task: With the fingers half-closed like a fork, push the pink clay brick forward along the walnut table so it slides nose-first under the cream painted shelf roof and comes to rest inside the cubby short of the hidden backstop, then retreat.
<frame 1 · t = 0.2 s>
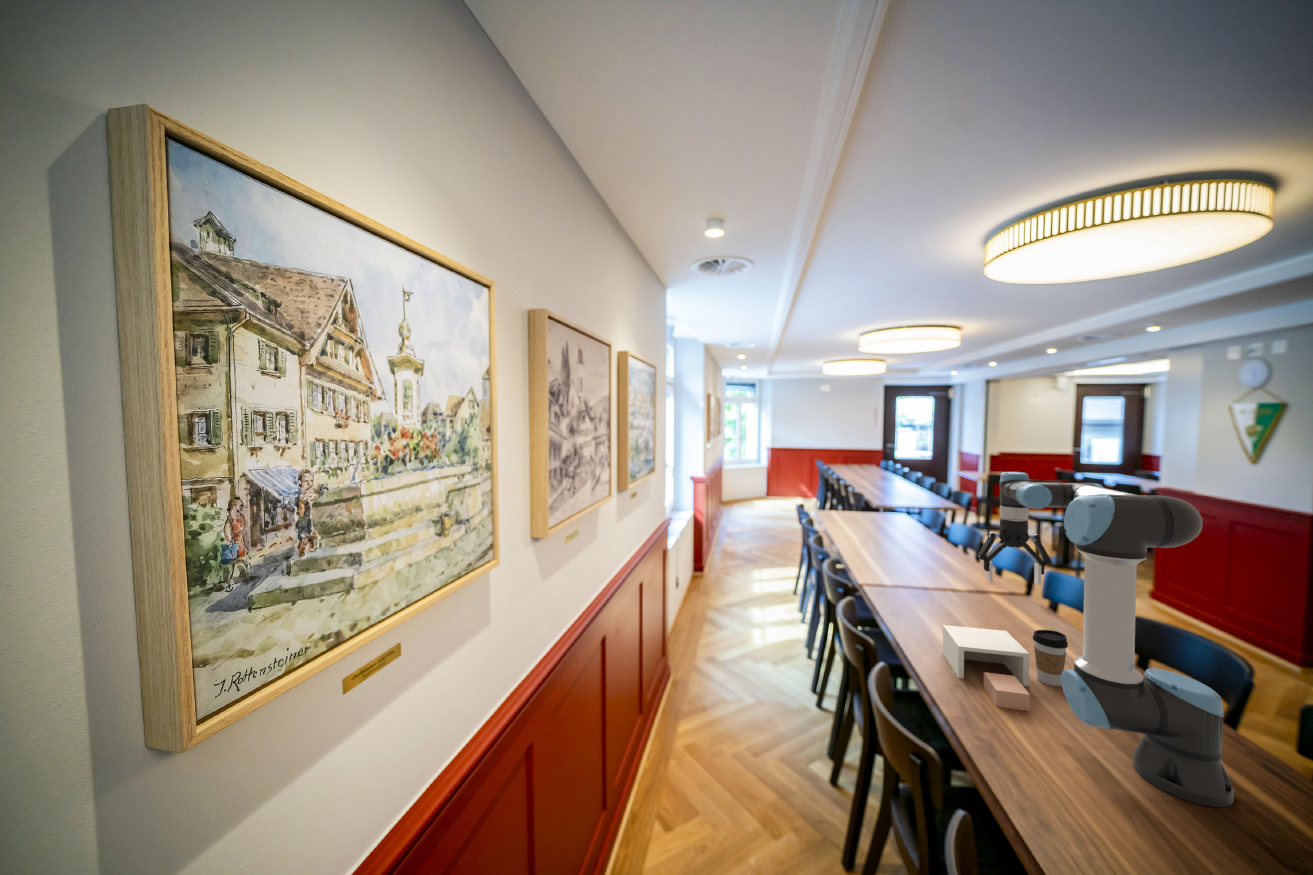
hand: (1013, 582, 155), 28 cm above the table, fingers open, 13 cm apart
pink clay brick: (1005, 699, 137), on the table
shelf: (982, 668, 153), on the table
coffee cup: (1049, 681, 146), on the table
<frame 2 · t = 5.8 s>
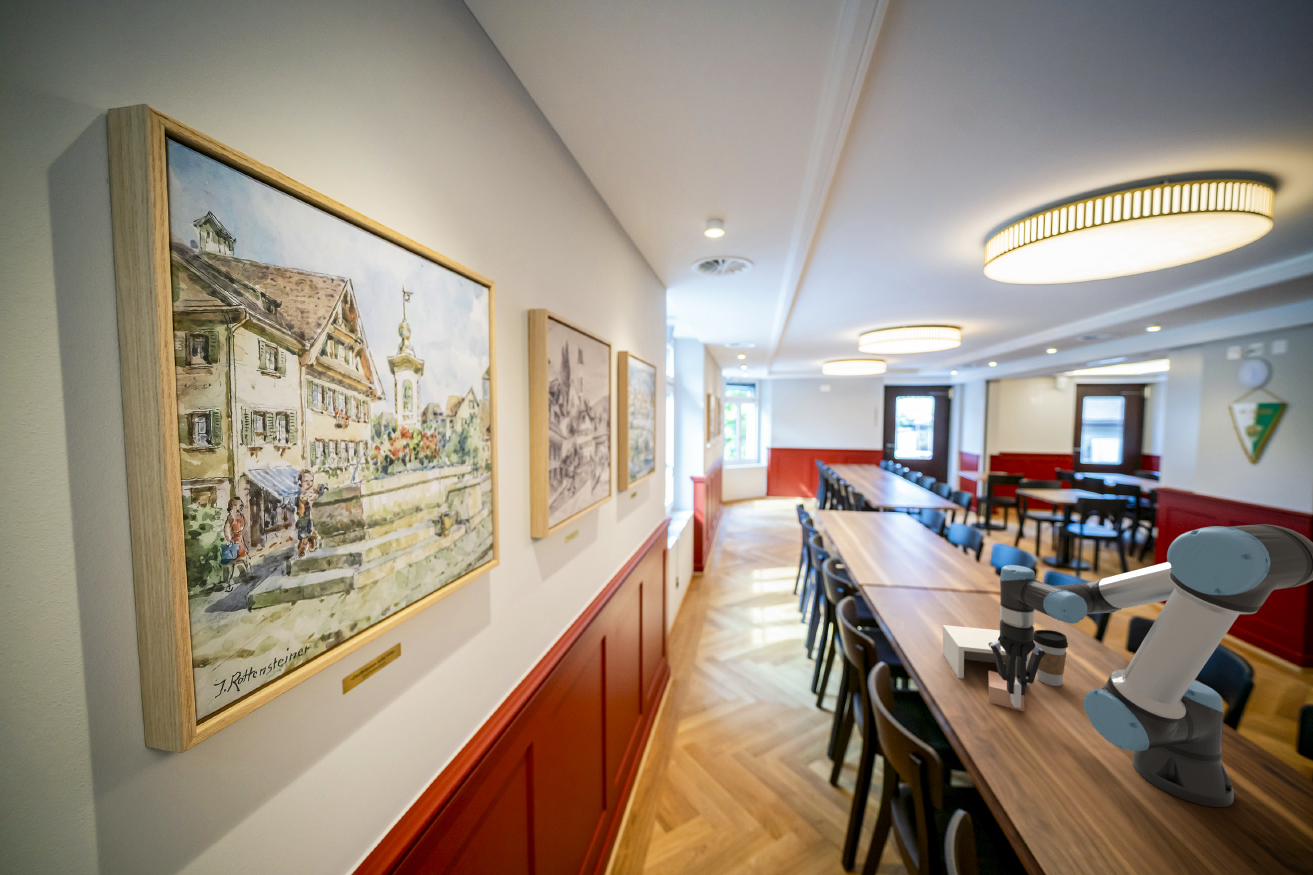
hand: (1015, 704, 131), 2 cm above the table, fingers closed
pink clay brick: (1005, 698, 137), on the table, touching gripper
everything else where it was.
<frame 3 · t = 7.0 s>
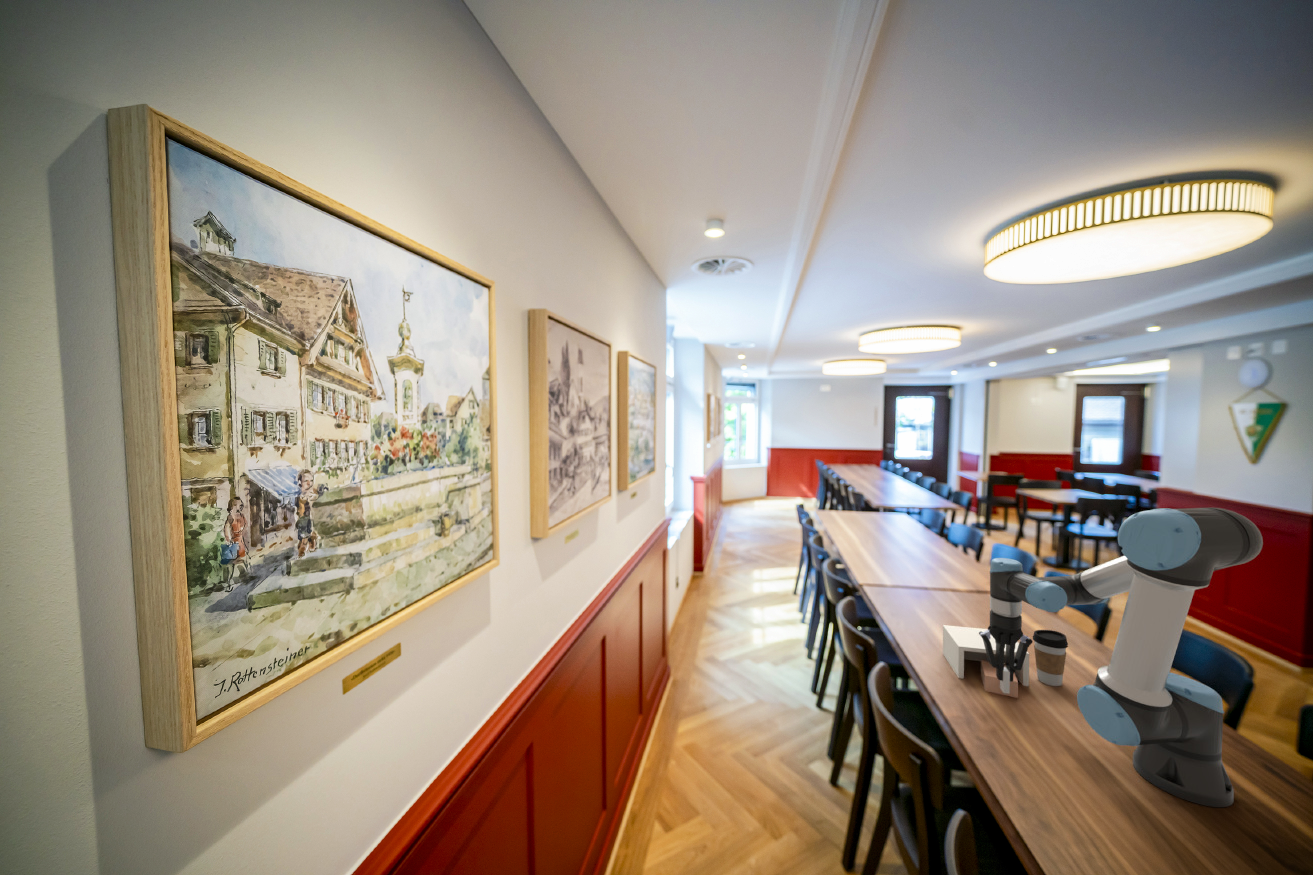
hand: (1004, 690, 138), 2 cm above the table, fingers closed
pink clay brick: (998, 686, 144), on the table, touching gripper
everything else where it was.
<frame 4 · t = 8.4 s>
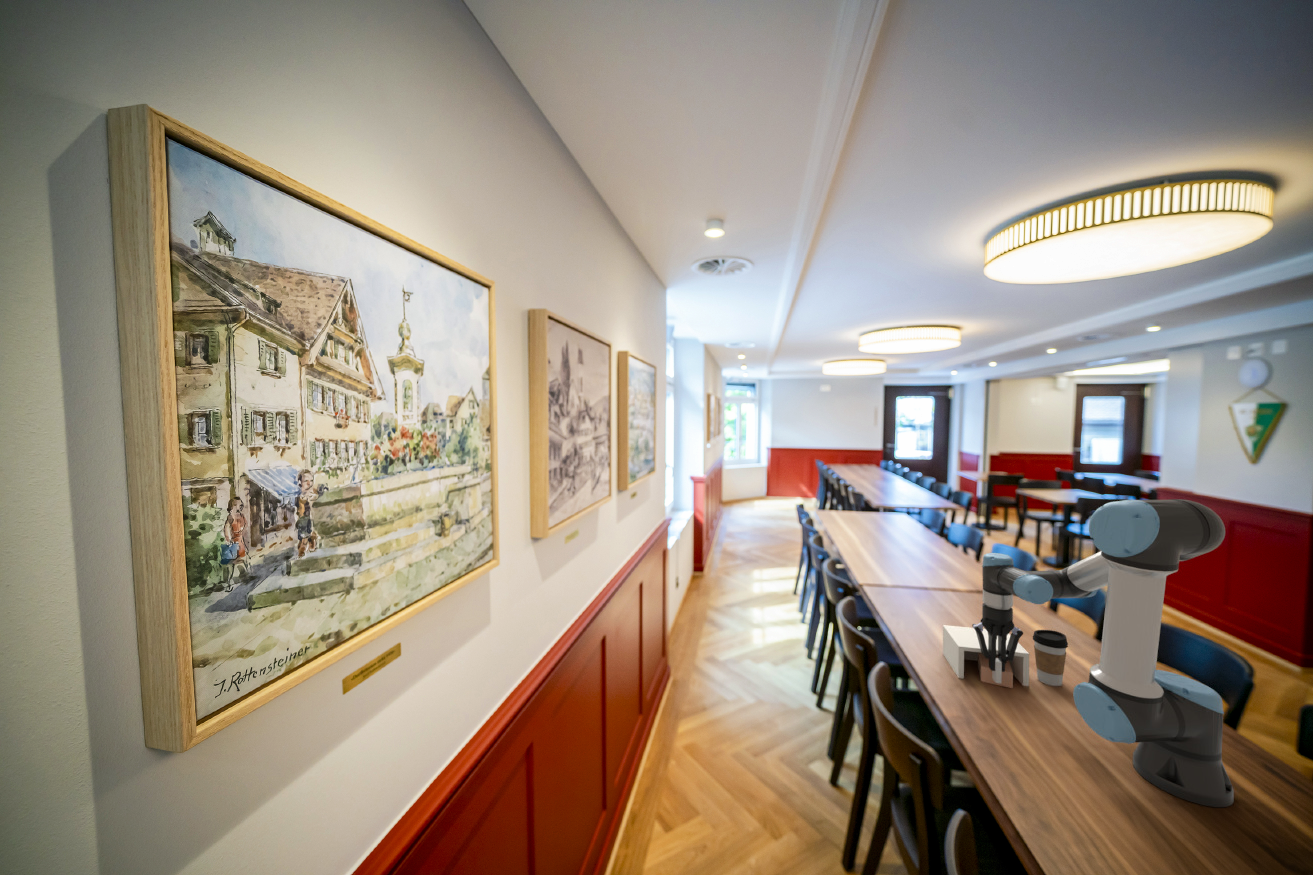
hand: (996, 680, 143), 2 cm above the table, fingers closed
pink clay brick: (994, 677, 149), on the table
everything else where it was.
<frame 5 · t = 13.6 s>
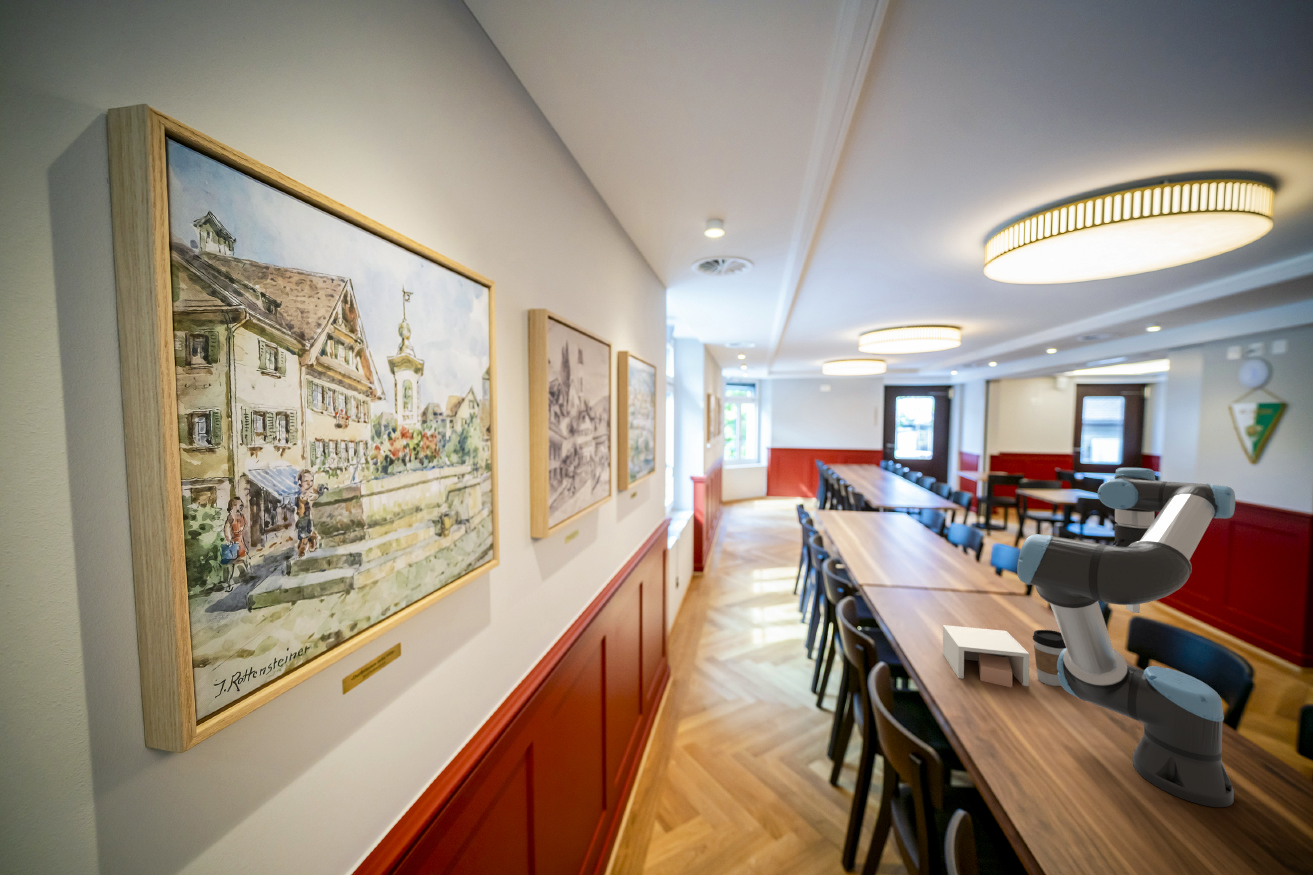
hand: (1132, 610, 127), 29 cm above the table, fingers closed
nothing on the table moved.
at the end: pink clay brick inside the target area on the shelf (2.2 cm from its centre), point 0.0 cm above the shelf's base; pink clay brick tilted 0° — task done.
